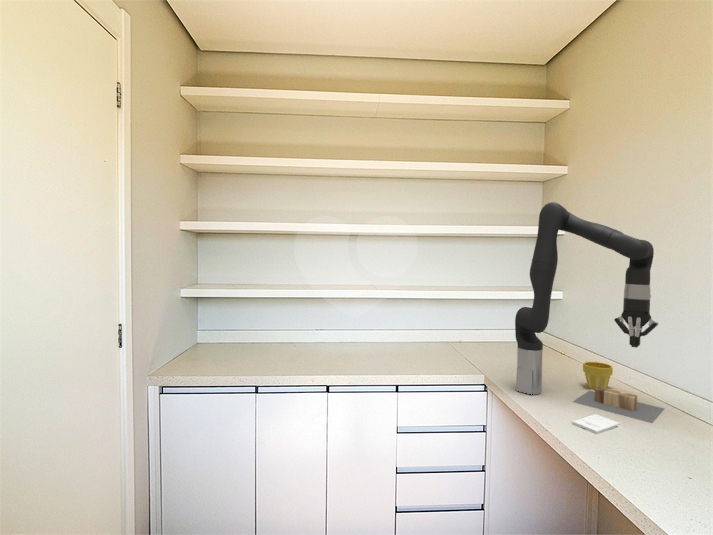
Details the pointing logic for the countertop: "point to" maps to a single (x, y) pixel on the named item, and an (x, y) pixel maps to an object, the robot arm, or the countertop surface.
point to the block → (616, 398)
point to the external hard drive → (596, 423)
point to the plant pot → (597, 374)
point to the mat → (640, 413)
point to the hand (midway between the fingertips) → (634, 346)
